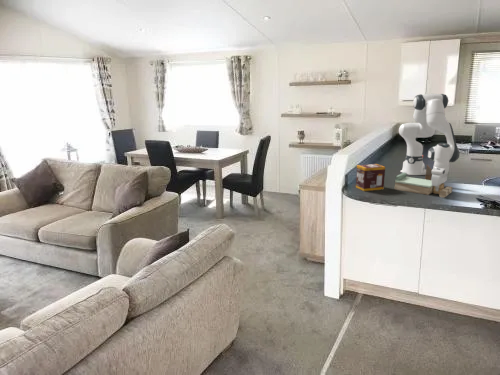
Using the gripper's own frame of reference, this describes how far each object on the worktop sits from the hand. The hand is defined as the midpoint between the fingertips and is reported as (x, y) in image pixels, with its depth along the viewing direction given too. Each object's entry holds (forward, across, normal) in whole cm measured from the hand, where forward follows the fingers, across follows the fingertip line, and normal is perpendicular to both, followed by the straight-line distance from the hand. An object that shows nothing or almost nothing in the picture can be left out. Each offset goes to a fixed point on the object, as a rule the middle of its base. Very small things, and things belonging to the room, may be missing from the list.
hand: (438, 190), depth 250 cm
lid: (-3, 0, -14) cm, 14 cm away
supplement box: (+2, +16, -39) cm, 42 cm away
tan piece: (+2, 0, -10) cm, 10 cm away
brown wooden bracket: (+2, -17, -8) cm, 19 cm away
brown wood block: (+2, 0, 0) cm, 2 cm away
